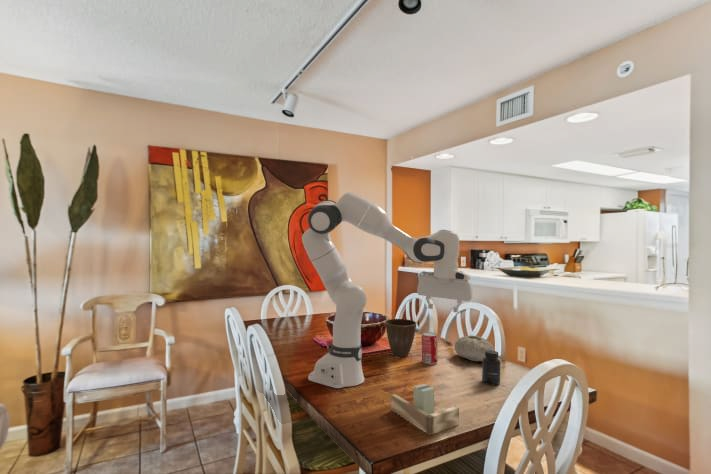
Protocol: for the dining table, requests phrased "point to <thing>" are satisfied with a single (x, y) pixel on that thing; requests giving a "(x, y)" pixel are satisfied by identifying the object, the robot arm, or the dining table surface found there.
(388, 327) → the plant pot
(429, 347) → the soda can
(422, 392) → the sage block
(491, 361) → the supplement bottle
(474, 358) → the decorative shell
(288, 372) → the dining table surface
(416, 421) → the corner bracket
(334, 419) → the dining table surface
